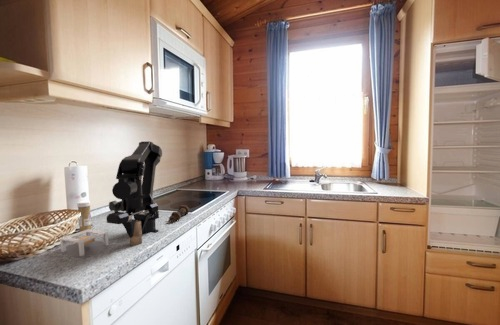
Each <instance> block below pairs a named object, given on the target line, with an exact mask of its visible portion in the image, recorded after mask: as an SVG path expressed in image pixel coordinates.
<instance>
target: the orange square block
mask: <svg viewBox="0 0 500 325" xmlns="http://www.w3.org/2000/svg"><path fill="white" fill-rule="evenodd" d="M87 237H90V236H86V235H85V236H82V237H79V238H78V239H85V238H87ZM93 241H96V238H94V239H91V240H89V241H86V242H84V245H86V244H88V243H91V242H93ZM76 244H79V243H76Z"/></svg>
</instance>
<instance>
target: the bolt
mask: <svg viewBox="0 0 500 325" xmlns="http://www.w3.org/2000/svg"><path fill="white" fill-rule="evenodd" d="M189 212H190V208H189V206H188V205H186V204H185V205H183V204H182V205H180V206H179V208H178V210H177V211H173V212H171V214H170V216H169V217H168V221H169V222H171V223H174V222H177V221H176V220H178V221H179V220H181V218H182V216H185V215H184V214H187V215H188V214H189Z"/></svg>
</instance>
